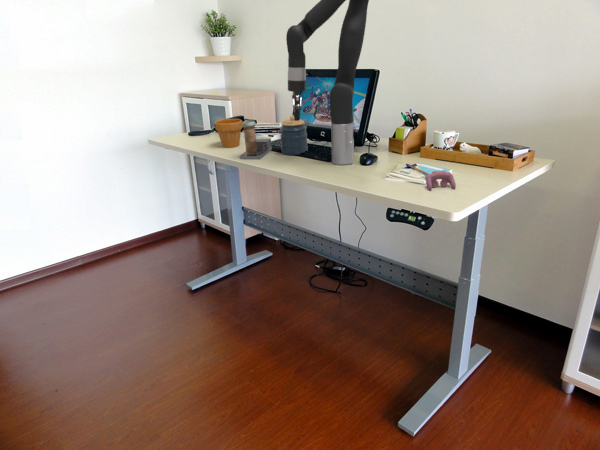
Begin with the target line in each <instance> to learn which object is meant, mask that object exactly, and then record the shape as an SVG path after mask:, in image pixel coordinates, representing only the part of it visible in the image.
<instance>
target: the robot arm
mask: <svg viewBox="0 0 600 450" xmlns="http://www.w3.org/2000/svg"><path fill="white" fill-rule="evenodd" d="M346 1H347V0H320V1H318V2H317V3H316V4H315V5H314V6H313V7H311V9H310V10H308V11H307V13H306V14H305V15H304V18H302V19H301V21H300V22H298V24H296V25H291V26H289V28H288V29H287V30H286V36H285V37H286V39H285V40H286V48H287V52H288V54H287V55H288V58H287V62H288V63H287V65H288V67H287V68H288V69H287V91H288V92H292V95H291V103H292V108H293V115H294V120H295V121H299V120H300V119H301V117H300V116H301V110H302V108H301V107H302V99H303V98H302V94H301V92H305V91H306V90H307V89H306V86H307V82H306V81H307V71H306V53H305V51H304V50H305V49H304V44H305V42H307V40H309V39H310V38H311V36H312V35H314V33H315V32H316V31H317V30H318V29H320V28H321V27H322V26H323V25H324V24H325V23H326V22H327V21H329V20H330V19H331V17H333V16H334V14H335V13H336V12H337V11H338V9H339V8H341V6H342V5H343V4H344V3H345V2H346ZM369 1H370V0H349V1H348V7H347V10H346V12H345V15H344V18H343V21H342V25H341V29H340V34H339V40H338V50H337V51H338V53H337V54H338V55H337V56H338V57H337V58H338V59H337V62H338V63H337V64H338V66H337V73H336V78H335V79H334V80H335V81H334V85H333V86H332V87H331V89H330V92H329V114H330V124H331V125H330V127H331V128H330V129H331V131H330V132H331V133H330V134H331V137H330V138H331V163H332V164H333V165H337V166H338V165H339V166H346V165H352V164H353V163H354V161H355V139H354V114H353V112H354V111H353V104H354V103H353V102H354V101H353V99H354V96H355V95H354V94H355V78H356V71H357V67H358V64H359V60H360V57H361V53H362V48H363V44H364V40H365V39H364V38H365V33H366V32H365V31H366V27H367V16H368V15H367V14H368V7H369Z"/></svg>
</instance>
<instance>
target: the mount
mask: <svg viewBox="0 0 600 450" xmlns="http://www.w3.org/2000/svg"><path fill="white" fill-rule="evenodd" d="M256 147H257V154H255V155H247V154H246V151H244V152H243V153H241V154H240V155H239V160H261V159H263V158H264V157H265V156H266V155H267V154H269V152H271V151H272V150H273V148H272V139H271V138H256Z"/></svg>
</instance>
